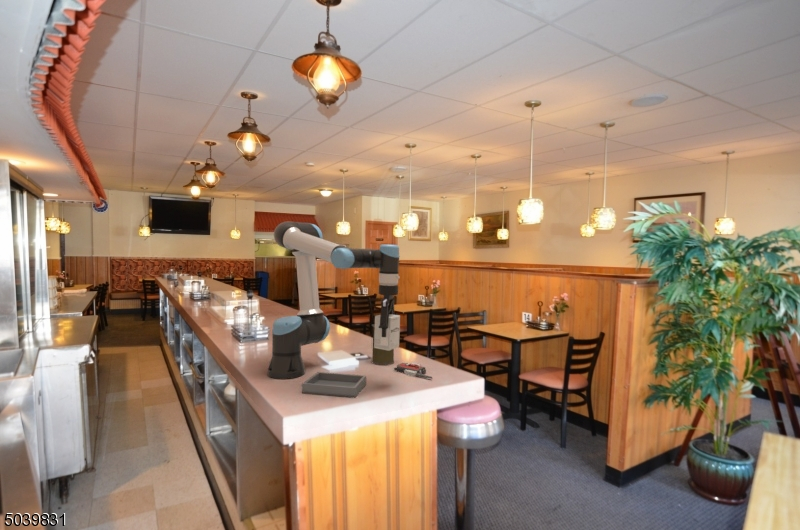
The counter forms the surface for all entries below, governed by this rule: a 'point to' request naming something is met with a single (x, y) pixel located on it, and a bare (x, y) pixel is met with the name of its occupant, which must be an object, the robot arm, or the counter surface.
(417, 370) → the red grey elongated piece
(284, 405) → the counter surface
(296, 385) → the counter surface
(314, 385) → the grey tray
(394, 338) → the supplement box
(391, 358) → the canister
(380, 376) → the counter surface
